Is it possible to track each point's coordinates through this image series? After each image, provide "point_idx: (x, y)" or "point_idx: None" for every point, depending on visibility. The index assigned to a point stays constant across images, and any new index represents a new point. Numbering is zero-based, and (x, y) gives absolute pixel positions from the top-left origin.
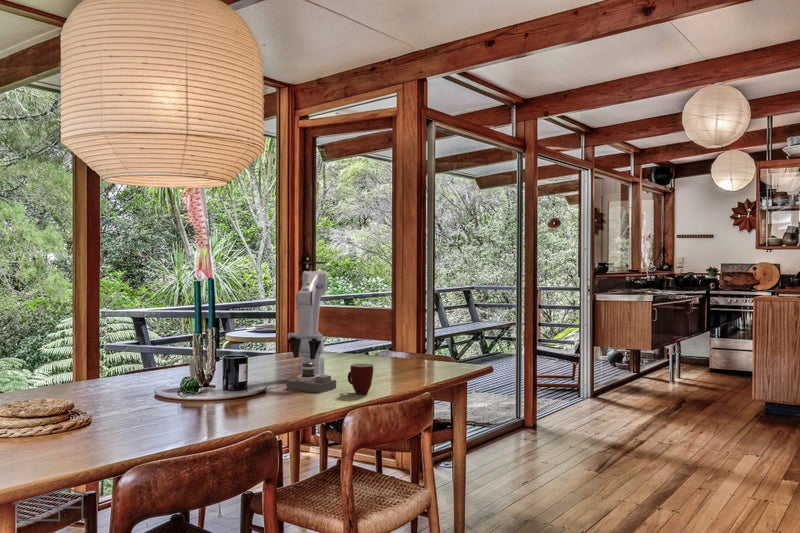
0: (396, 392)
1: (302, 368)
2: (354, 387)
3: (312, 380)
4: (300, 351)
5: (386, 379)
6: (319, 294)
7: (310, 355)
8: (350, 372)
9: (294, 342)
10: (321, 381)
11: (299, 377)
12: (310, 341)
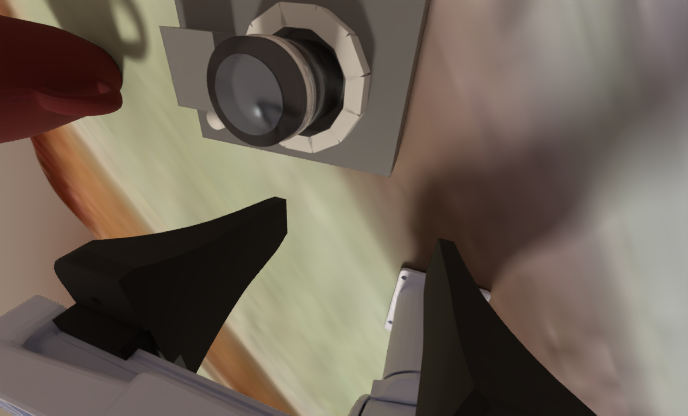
0: (68, 135)
1: (292, 47)
2: (68, 33)
3: None
4: None
5: None
6: None
7: (262, 207)
8: (54, 91)
9: (449, 382)
10: (195, 28)
11: (323, 10)
12: (89, 264)
